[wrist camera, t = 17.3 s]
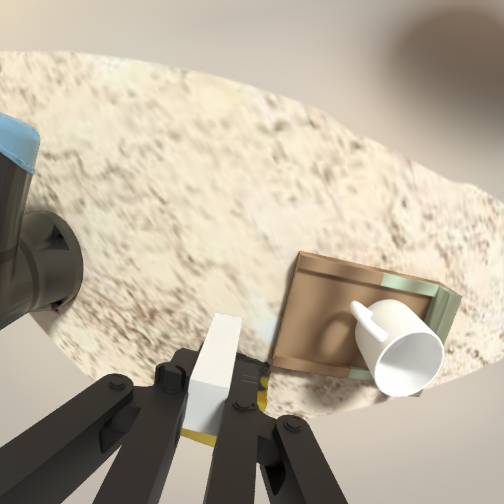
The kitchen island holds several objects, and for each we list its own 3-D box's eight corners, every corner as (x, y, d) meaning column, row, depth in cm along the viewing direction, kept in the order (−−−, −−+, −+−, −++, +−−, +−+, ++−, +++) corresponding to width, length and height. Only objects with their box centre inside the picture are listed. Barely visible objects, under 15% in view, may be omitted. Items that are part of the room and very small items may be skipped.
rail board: (272, 355, 43) (272, 379, 37) (299, 250, 40) (304, 261, 34) (405, 375, 43) (419, 396, 37) (441, 282, 40) (462, 296, 34)
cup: (380, 364, 40) (403, 408, 30) (320, 315, 39) (333, 355, 29) (422, 321, 39) (456, 356, 29) (365, 266, 38) (393, 292, 28)
